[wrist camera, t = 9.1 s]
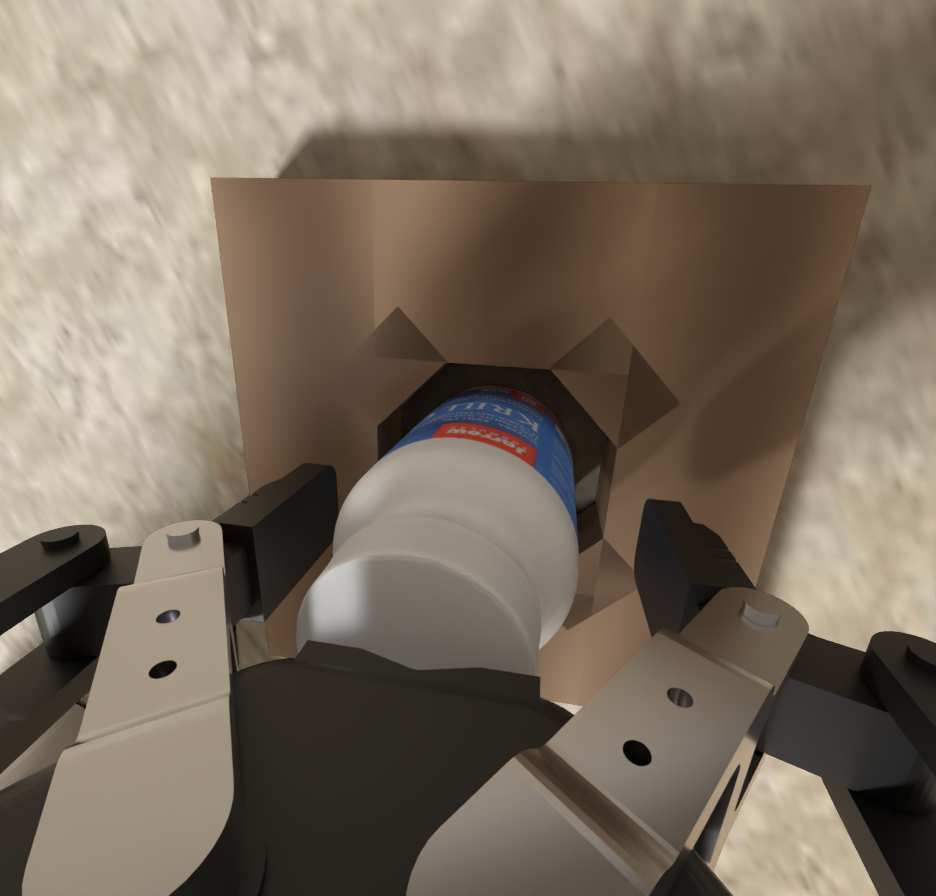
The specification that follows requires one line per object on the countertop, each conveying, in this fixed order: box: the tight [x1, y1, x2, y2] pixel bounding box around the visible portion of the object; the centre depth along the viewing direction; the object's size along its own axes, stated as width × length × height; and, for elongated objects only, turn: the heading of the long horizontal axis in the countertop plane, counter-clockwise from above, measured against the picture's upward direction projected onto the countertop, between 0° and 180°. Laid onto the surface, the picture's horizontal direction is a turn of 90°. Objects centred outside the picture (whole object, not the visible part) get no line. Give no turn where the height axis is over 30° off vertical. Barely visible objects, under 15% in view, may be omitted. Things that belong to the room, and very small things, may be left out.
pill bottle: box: [296, 386, 579, 676], centre depth 12 cm, size 6×5×10 cm
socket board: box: [211, 178, 871, 706], centre depth 15 cm, size 16×16×2 cm
